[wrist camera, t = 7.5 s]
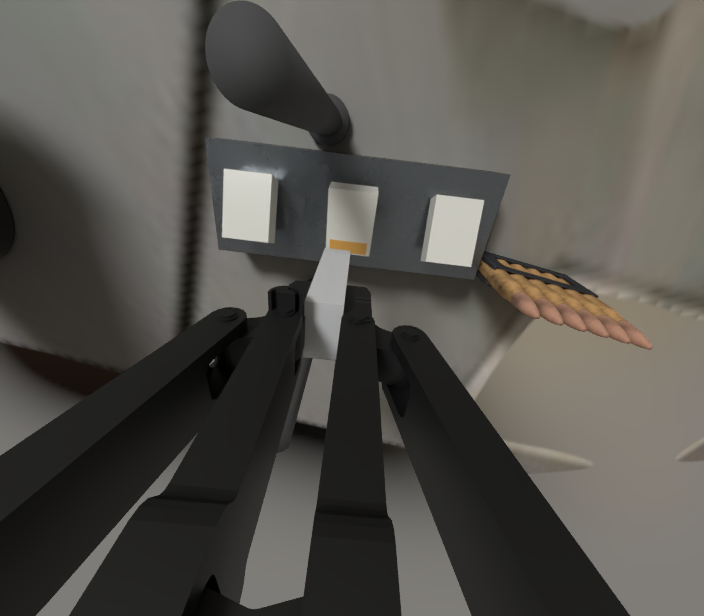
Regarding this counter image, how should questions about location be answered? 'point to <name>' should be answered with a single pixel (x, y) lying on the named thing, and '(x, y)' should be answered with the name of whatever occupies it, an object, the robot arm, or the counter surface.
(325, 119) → the cord post near
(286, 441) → the cord post far
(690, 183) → the counter surface
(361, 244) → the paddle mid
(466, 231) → the paddle right
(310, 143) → the counter surface
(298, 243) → the breaker panel
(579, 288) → the ammunition clip
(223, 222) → the paddle left
